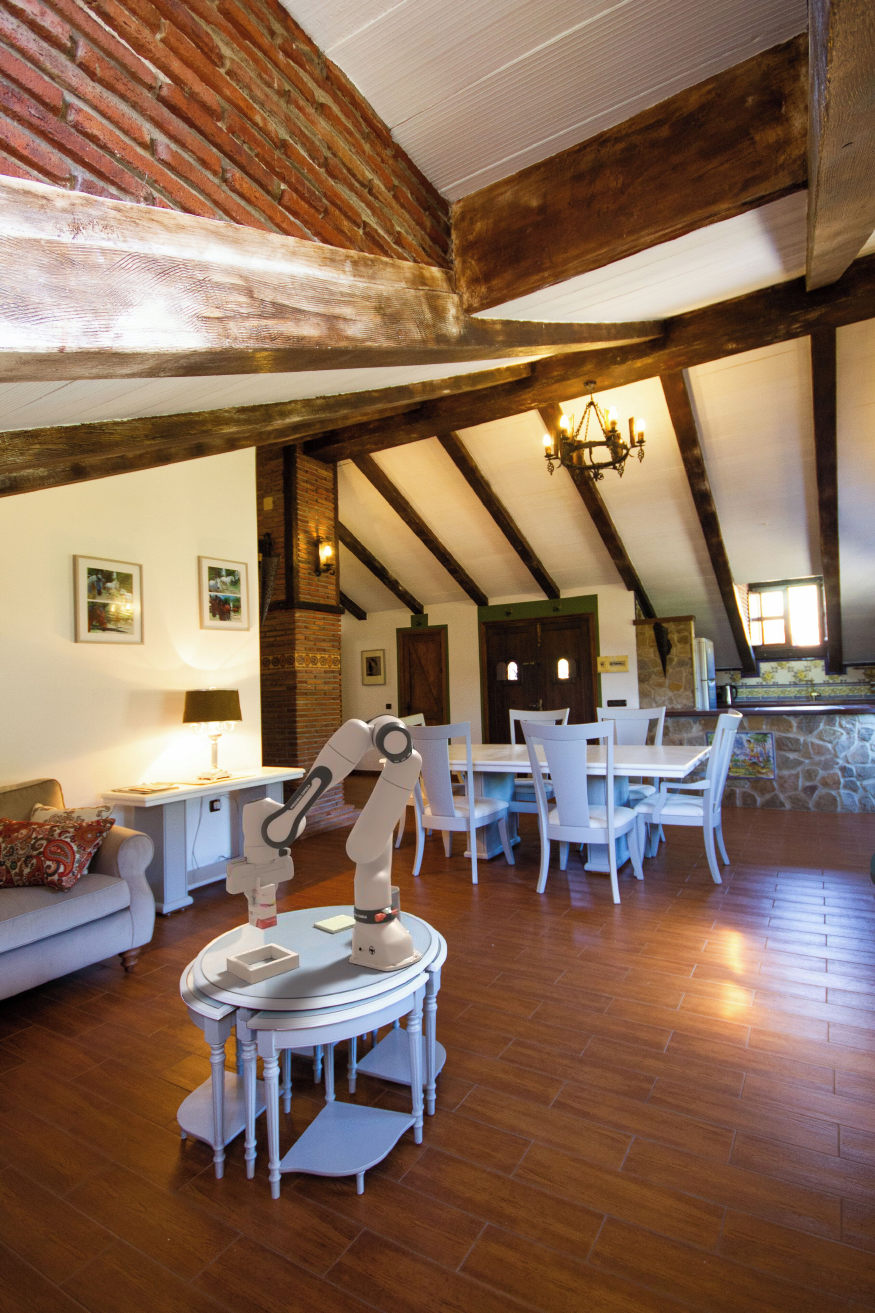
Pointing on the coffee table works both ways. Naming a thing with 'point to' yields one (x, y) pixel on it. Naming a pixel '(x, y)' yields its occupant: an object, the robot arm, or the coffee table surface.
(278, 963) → the cartridge dock
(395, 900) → the pillar candle
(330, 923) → the cream square pad
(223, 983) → the coffee table surface
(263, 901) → the ink cartridge box
